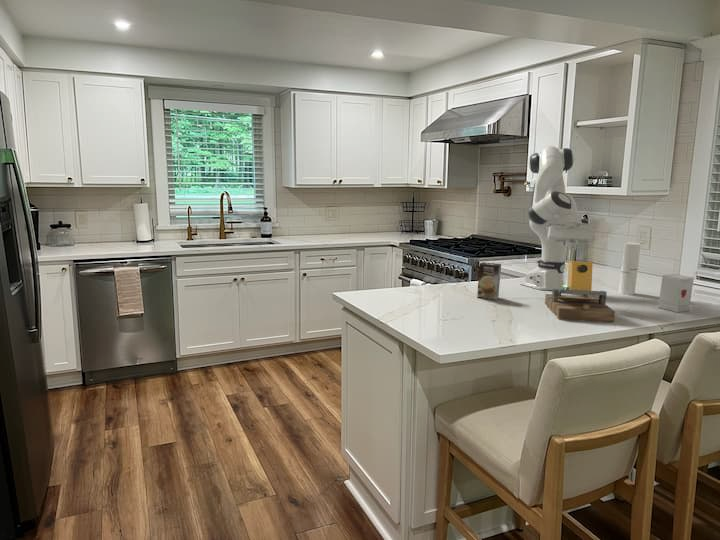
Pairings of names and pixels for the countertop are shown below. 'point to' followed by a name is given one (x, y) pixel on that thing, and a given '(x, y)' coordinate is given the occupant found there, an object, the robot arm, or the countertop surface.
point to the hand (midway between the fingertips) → (572, 249)
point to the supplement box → (676, 292)
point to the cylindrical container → (629, 268)
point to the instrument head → (580, 279)
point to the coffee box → (489, 280)
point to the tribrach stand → (579, 307)
